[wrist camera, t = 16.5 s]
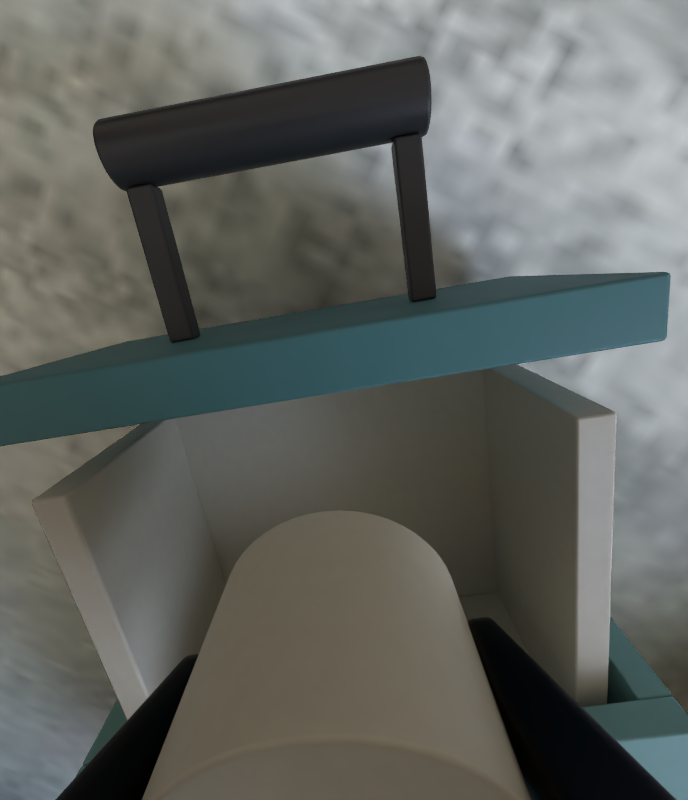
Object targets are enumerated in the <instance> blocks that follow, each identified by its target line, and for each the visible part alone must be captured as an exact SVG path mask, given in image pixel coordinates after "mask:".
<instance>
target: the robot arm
mask: <svg viewBox="0 0 688 800" xmlns="http://www.w3.org/2000/svg"><path fill="white" fill-rule="evenodd" d="M468 625H469V628H470V630H471V633H472V636H473V639H474V641H475V644H476V647H477V650H478V653H479V655H480V658H481V661H482V664H483V666H484V669H485V672H486V675H487V677H488V680H489V683H490V686H491V689H492V691H493V694H494V697H495V700H496V702H497V705H498V708H499V711H500V713H501V716H502V719H503V722H504V725H505V727H506V730H507V733H508V736H509V738H510V741H511V744H512V747H513V750H514V752H515V755H516V758H517V761H518V763H519V766H520V769H521V772H522V774H523V777H524V780H525V783H526V786H527V788H528V791H529V794H530V797H531V799H532V800H676V799H675V798H674V797H673V796H672V795H671V794H670V793H669V792H668V791H667V790H666V789H665V788H664V787H663V786H662V785H661V784H660V783H659V782H658V781H657V780H656V779H655V778H654V777H653V776H652V775H651V774H650V773H649V772H648V771H647V770H646V769H645V768H644V767H643V766H642V765H641V764H640V763H639V762H638V761H637V760H636V759H635V758H634V757H633V756H632V755H631V754H630V753H628V752H627V751H626V750H625V749H624V748H623V747H622V746H621V745H620V744H619V743H618V742H617V741H616V740H615V739H614V738H613V737H612V736H611V735H610V734H609V733H608V732H607V731H606V730H605V729H604V728H603V727H602V726H601V725H600V724H599V723H598V722H597V721H596V720H595V719H594V718H593V717H592V716H591V715H590V714H589V713H588V712H587V711H586V710H585V709H584V708H583V707H582V706H580V705H579V704H578V703H577V702H576V701H575V700H574V699H573V698H572V697H571V696H570V695H569V694H568V693H567V692H566V691H565V690H564V689H563V688H562V687H561V686H560V685H559V684H558V683H557V682H556V681H555V680H554V679H553V678H552V677H551V676H550V675H549V674H548V673H547V672H546V671H545V670H544V669H543V668H542V667H541V666H540V665H539V664H538V663H537V662H536V661H535V660H534V659H533V658H531V657H530V656H529V655H528V654H527V653H526V652H525V651H524V650H523V649H522V648H521V647H520V646H519V645H518V644H517V643H516V642H515V641H514V640H513V639H512V638H511V637H510V636H509V635H508V634H507V633H506V632H505V631H504V630H503V629H502V628H501V627H500V626H499V625H498V624H497V623H496V622H495V621H494V620H493V619H491V618H489V617H481V618H473V619H469V620H468ZM198 655H199V654H194V655H188V656H186V657H185V658H184V659H183V660H182V661H181V662H180V663H179V664H178V665H177V666H176V667H175V668H174V669H173V670H172V672H171V673H170V674H169V675H168V676H167V677H166V678H165V679H164V680H163V682H162V683H161V684H160V685H159V686H158V687H157V688H156V689H155V690H154V691H153V693H152V694H151V695H150V696H149V697H148V698H147V699H146V700H145V701H144V703H143V704H142V705H141V706H140V707H139V708H138V709H137V710H136V711H135V712H134V714H133V715H132V716H131V717H130V718H129V719H128V720H127V721H126V722H125V724H124V725H123V726H122V727H121V728H120V729H119V730H118V731H117V732H116V733H115V735H114V736H113V737H112V738H111V739H110V740H109V741H108V742H107V743H106V745H105V746H104V747H103V748H102V749H101V750H100V751H99V752H98V753H97V754H96V756H95V757H94V758H93V759H92V760H91V761H90V762H89V763H88V764H87V766H86V767H85V768H84V769H83V770H82V771H81V772H80V773H79V774H78V775H77V777H76V778H75V779H74V780H73V781H72V782H71V783H70V784H69V785H68V787H67V788H66V789H65V790H64V791H63V792H62V793H61V794H60V795H59V797H58V798H57V799H56V800H142V798H143V795H144V793H145V790H146V788H147V785H148V783H149V780H150V778H151V775H152V772H153V770H154V767H155V765H156V762H157V760H158V757H159V755H160V752H161V749H162V747H163V744H164V742H165V739H166V737H167V734H168V732H169V729H170V726H171V724H172V721H173V719H174V716H175V714H176V711H177V709H178V706H179V704H180V701H181V698H182V696H183V693H184V691H185V688H186V686H187V683H188V681H189V678H190V675H191V673H192V670H193V668H194V665H195V663H196V660H197V658H198Z"/></svg>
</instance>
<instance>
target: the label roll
mask: <svg viewBox="0 0 688 800" xmlns="http://www.w3.org/2000/svg"><path fill="white" fill-rule="evenodd" d="M142 800H532V799H531V797H530V794H529V791H528V788H527V786H526V783H525V780H524V777H523V774H522V772H521V769H520V766H519V763H518V761H517V758H516V755H515V752H514V750H513V747H512V744H511V741H510V738H509V736H508V733H507V730H506V727H505V725H504V722H503V719H502V716H501V713H500V711H499V708H498V705H497V702H496V700H495V697H494V694H493V691H492V689H491V686H490V683H489V680H488V677H487V675H486V672H485V669H484V666H483V664H482V661H481V658H480V655H479V653H478V650H477V647H476V644H475V641H474V639H473V636H472V633H471V630H470V628H469V625H468V622H467V619H466V617H465V614H464V611H463V608H462V605H461V603H460V600H459V597H458V594H457V592H456V589H455V586H454V583H453V581H452V578H451V575H450V573H449V571H448V569H447V567H446V565H445V564H444V562H443V561H442V559H441V558H440V556H439V555H438V554H437V552H436V551H435V550H434V549H433V548H432V547H431V546H430V545H429V544H428V543H427V542H426V541H424V540H423V539H422V538H421V537H420V536H418V535H417V534H416V533H414V532H413V531H411V530H409V529H408V528H406V527H404V526H403V525H401V524H398V523H396V522H394V521H392V520H389V519H387V518H383V517H380V516H377V515H374V514H369V513H363V512H358V511H344V510H337V511H323V512H316V513H310V514H306V515H303V516H299V517H296V518H293V519H291V520H288V521H286V522H284V523H281V524H279V525H277V526H276V527H274V528H272V529H271V530H269V531H267V532H266V533H264V534H263V535H262V536H260V537H259V538H258V539H257V540H255V541H254V542H253V543H252V544H251V545H250V546H249V547H248V548H247V549H246V550H245V551H244V552H243V554H242V555H241V557H240V558H239V559H238V561H237V562H236V564H235V566H234V568H233V570H232V572H231V574H230V576H229V578H228V581H227V583H226V586H225V589H224V591H223V594H222V596H221V599H220V601H219V604H218V606H217V609H216V612H215V614H214V617H213V619H212V622H211V624H210V627H209V629H208V632H207V635H206V637H205V640H204V642H203V645H202V647H201V650H200V652H199V655H198V658H197V660H196V663H195V665H194V668H193V670H192V673H191V675H190V678H189V681H188V683H187V686H186V688H185V691H184V693H183V696H182V698H181V701H180V704H179V706H178V709H177V711H176V714H175V716H174V719H173V721H172V724H171V726H170V729H169V732H168V734H167V737H166V739H165V742H164V744H163V747H162V749H161V752H160V755H159V757H158V760H157V762H156V765H155V767H154V770H153V772H152V775H151V778H150V780H149V783H148V785H147V788H146V790H145V793H144V795H143V798H142Z"/></svg>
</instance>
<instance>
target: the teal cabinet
mask: <svg viewBox="0 0 688 800" xmlns="http://www.w3.org/2000/svg"><path fill="white" fill-rule="evenodd" d="M583 708H584V709H585V710H586V711H587V712H588V713H589V714H590V715H591V716H592V717H593V718H594V719H595V720H596V721H597V722H598V723H599V724H600V725H601V726H602V727H603V728H604V729H605V730H606V731H607V732H608V733H609V734H610V735H611V736H612V737H613V738H614V739H615V740H616V741H617V742H618V743H619V744H620V745H621V746H622V747H623V748H624V749H625V750H626V751H627V752H628V753H630V754H631V755H632V756H633V757H634V758H635V759H636V760H637V761H638V762H639V763H640V764H641V765H642V766H643V767H644V768H645V769H646V770H647V771H648V772H649V773H650V774H651V775H652V776H653V777H654V778H655V779H656V780H657V781H658V782H659V783H660V784H661V785H662V786H663V787H664V788H665V789H666V790H667V791H668V792H669V793H670V794H671V795H672V796H673V797H674V798H675V799H676V800H688V715H687V713H686V712H685V711H684V710H683V708H682V707H681V706H680V704H679V703H678V702H677V701H676V699H675V698H673V697H672V694H671V692H670V691H669V690H668V689H667V687H666V686H665V685H664V684H663V682H662V681H661V680H660V679H659V677H658V676H657V675H656V674H655V672H654V671H653V670H652V669H651V667H650V666H649V665H648V664H647V662H646V661H645V660H644V658H643V657H642V656H641V655H640V653H639V652H638V651H637V650H636V648H635V647H634V646H633V645H632V643H631V642H630V641H629V640H628V638H627V637H626V636H625V635H624V633H623V632H622V631H621V630H620V628H619V627H618V626H617V624H616V623H615V622H614V621H613V619H612V618H611V617H610V632H609V662H608V692H607V704H603V705H595V706H586V707H583ZM126 721H127V718H126V716H125V714H124V712H123V709H122V707H121V705H120V703H119V700H118V699H117V701H116V703H115V705H114V707H113V709H112V710H111V712H110V714H109V716H108V718H107V720H106V722H105V723H104V725H103V727H102V729H101V731H100V733H99V734H98V736H97V738H96V740H95V742H94V744H93V746H92V747H91V749H90V751H89V753H88V755H87V757H86V758H85V760H84V762H83V766H82V767H81V768H80V770H79V772H78V774H79V773H80V772H81V771H82V770H83V769H84V768H85V767H86V766H87V764H88V763H89V762H90V761H91V760H92V759H93V758H94V757H95V756H96V754H97V753H98V752H99V751H100V750H101V749H102V748H103V747H104V746H105V745H106V743H107V742H108V741H109V740H110V739H111V738H112V737H113V736H114V735H115V733H116V732H117V731H118V730H119V729H120V728H121V727H122V726H123V725H124V724H125V722H126ZM78 774H77V775H78ZM77 775H76V777H77ZM76 777H75V778H76Z"/></svg>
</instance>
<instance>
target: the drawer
mask: <svg viewBox="0 0 688 800" xmlns="http://www.w3.org/2000/svg"><path fill="white" fill-rule="evenodd" d="M430 118H431V82H430V74H429V69H428V65H427V62H426V60H425V58H424V57H422V56H416V57H411V58H406V59H401V60H396V61H391V62H386V63H381V64H376V65H371V66H366V67H361V68H356V69H351V70H346V71H341V72H335V73H330V74H325V75H320V76H315V77H310V78H305V79H300V80H295V81H290V82H285V83H280V84H275V85H270V86H265V87H260V88H255V89H250V90H244V91H239V92H234V93H229V94H224V95H219V96H214V97H209V98H204V99H199V100H194V101H189V102H184V103H179V104H174V105H169V106H164V107H158V108H153V109H148V110H143V111H138V112H133V113H128V114H123V115H118V116H113V117H108V118H103V119H99V120H98V121H96V122H95V124H94V127H93V137H94V142H95V146H96V150H97V153H98V155H99V158H100V160H101V162H102V164H103V166H104V168H105V170H106V172H107V173H108V175H109V176H110V178H111V179H112V181H113V182H114V183H115V184H116V185H117V186H118V187H119V188H120V189H122V190H124V191H127V194H128V198H129V201H130V205H131V208H132V212H133V215H134V218H135V222H136V225H137V229H138V232H139V236H140V239H141V243H142V246H143V249H144V253H145V256H146V260H147V263H148V267H149V270H150V274H151V277H152V280H153V284H154V287H155V291H156V294H157V298H158V301H159V305H160V308H161V311H162V315H163V318H164V322H165V325H166V329H167V332H168V335H162V336H157V337H151V338H145V339H139V340H133V341H127V342H123V343H120V344H116V345H112V346H109V347H105V348H102V349H98V350H94V351H91V352H87V353H83V354H80V355H76V356H73V357H69V358H65V359H62V360H58V361H55V362H51V363H47V364H44V365H40V366H36V367H33V368H29V369H26V370H22V371H18V372H15V373H11V374H7V375H4V376H0V446H5V445H11V444H17V443H24V442H30V441H36V440H43V439H49V438H55V437H61V436H68V435H74V434H80V433H87V432H93V431H99V430H105V429H112V428H118V427H124V426H131V425H137V424H141V425H139V426H138V427H136V428H135V429H134V430H132V431H131V432H129V433H128V434H126V435H125V436H124V437H122V438H121V439H119V440H118V441H116V442H115V443H114V444H112V445H111V446H109V447H108V448H107V449H105V450H104V451H102V452H101V453H99V454H98V455H97V456H95V457H94V458H92V459H91V460H89V461H88V462H87V463H85V464H84V465H82V466H81V467H80V468H78V469H77V470H75V471H74V472H72V473H71V474H70V475H68V476H67V477H65V478H64V479H62V480H61V481H60V482H58V483H57V484H55V485H54V486H52V487H51V488H50V489H48V490H47V491H45V492H44V493H43V494H41V495H40V496H38V497H37V498H35V499H34V500H33V501H32V506H33V508H34V510H35V513H36V515H37V517H38V519H39V522H40V524H41V526H42V528H43V531H44V533H45V535H46V537H47V540H48V542H49V544H50V546H51V549H52V551H53V553H54V556H55V558H56V560H57V562H58V565H59V567H60V569H61V571H62V574H63V576H64V578H65V580H66V583H67V585H68V587H69V589H70V592H71V594H72V596H73V599H74V601H75V603H76V605H77V608H78V610H79V612H80V614H81V617H82V619H83V621H84V623H85V626H86V628H87V630H88V632H89V635H90V637H91V639H92V642H93V644H94V646H95V648H96V651H97V653H98V655H99V657H100V660H101V662H102V664H103V666H104V669H105V671H106V673H107V675H108V678H109V680H110V682H111V684H112V687H113V689H114V691H115V694H116V696H117V698H118V700H119V703H120V705H121V707H122V709H123V712H124V714H125V716H126V718H127V720H128V719H129V718H130V717H131V716H132V715H133V714H134V712H135V711H136V710H137V709H138V708H139V707H140V706H141V705H142V704H143V703H144V701H145V700H146V699H147V698H148V697H149V696H150V695H151V694H152V693H153V691H154V690H155V689H156V688H157V687H158V686H159V685H160V684H161V683H162V682H163V680H164V679H165V678H166V677H167V676H168V675H169V674H170V673H171V672H172V670H173V669H174V668H175V667H176V666H177V665H178V664H179V663H180V662H181V661H182V660H183V659H184V658H185V657H186V656H188V655H194V654H199V652H200V650H201V647H202V645H203V642H204V640H205V637H206V635H207V632H208V629H209V627H210V624H211V622H212V619H213V617H214V614H215V612H216V609H217V606H218V604H219V601H220V599H221V596H222V594H223V591H224V589H225V586H226V583H227V581H228V578H229V576H230V574H231V572H232V570H233V568H234V566H235V564H236V562H237V561H238V559H239V558H240V557H241V555H242V554H243V552H244V551H245V550H246V549H247V548H248V547H249V546H250V545H251V544H252V543H253V542H254V541H255V540H257V539H258V538H259V537H260V536H262V535H263V534H264V533H266V532H267V531H269V530H271V529H272V528H274V527H276V526H277V525H279V524H281V523H284V522H286V521H288V520H291V519H293V518H296V517H299V516H303V515H306V514H310V513H316V512H323V511H337V510H344V511H358V512H363V513H369V514H374V515H377V516H380V517H383V518H387V519H389V520H392V521H394V522H396V523H398V524H401V525H403V526H404V527H406V528H408V529H409V530H411V531H413V532H414V533H416V534H417V535H418V536H420V537H421V538H422V539H423V540H424V541H426V542H427V543H428V544H429V545H430V546H431V547H432V548H433V549H434V550H435V551H436V552H437V554H438V555H439V556H440V558H441V559H442V561H443V562H444V564H445V565H446V567H447V569H448V571H449V573H450V575H451V578H452V581H453V583H454V586H455V589H456V592H457V594H458V597H459V600H460V603H461V605H462V608H463V611H464V614H465V617H466V619H467V622H468V620H469V619H473V618H481V617H489V618H491V619H493V620H494V621H495V622H496V623H497V624H498V625H499V626H500V627H501V628H502V629H503V630H504V631H505V632H506V633H507V634H508V635H509V636H510V637H511V638H512V639H513V640H514V641H515V642H516V643H517V644H518V645H519V646H520V647H521V648H522V649H523V650H524V651H525V652H526V653H527V654H528V655H529V656H530V657H531V658H533V659H534V660H535V661H536V662H537V663H538V664H539V665H540V666H541V667H542V668H543V669H544V670H545V671H546V672H547V673H548V674H549V675H550V676H551V677H552V678H553V679H554V680H555V681H556V682H557V683H558V684H559V685H560V686H561V687H562V688H563V689H564V690H565V691H566V692H567V693H568V694H569V695H570V696H571V697H572V698H573V699H574V700H575V701H576V702H577V703H578V704H579V705H580V706H582V707H586V706H595V705H603V704H607V692H608V662H609V632H610V602H611V572H612V542H613V512H614V482H615V452H616V422H617V414H616V412H614V411H612V410H610V409H608V408H606V407H604V406H602V405H600V404H598V403H595V402H593V401H591V400H589V399H587V398H585V397H583V396H581V395H579V394H577V393H575V392H573V391H571V390H568V389H566V388H564V387H562V386H560V385H558V384H556V383H554V382H552V381H550V380H548V379H546V378H544V377H542V376H539V375H537V374H535V373H533V372H531V371H529V370H527V369H525V368H523V367H521V366H519V365H517V364H520V363H526V362H533V361H539V360H545V359H551V358H558V357H564V356H570V355H577V354H583V353H589V352H595V351H602V350H608V349H614V348H621V347H627V346H633V345H639V344H646V343H652V342H658V341H663V340H665V339H666V335H667V320H668V305H669V291H670V273H667V272H649V273H615V274H581V275H547V276H513V277H504V278H499V279H493V280H487V281H481V282H475V283H469V284H463V285H457V286H451V287H446V288H440V289H436V284H435V274H434V263H433V253H432V242H431V232H430V221H429V211H428V200H427V190H426V179H425V169H424V158H423V148H422V137H423V136H424V135H426V134H427V132H428V129H429V124H430ZM387 143H393V144H392V148H391V149H392V158H393V166H394V175H395V184H396V192H397V201H398V210H399V219H400V227H401V236H402V245H403V253H404V262H405V271H406V279H407V288H408V294H404V295H398V296H392V297H387V298H381V299H375V300H369V301H363V302H357V303H351V304H345V305H339V306H333V307H328V308H322V309H316V310H310V311H304V312H298V313H292V314H286V315H280V316H275V317H269V318H263V319H257V320H251V321H245V322H239V323H233V324H227V325H221V326H216V327H210V328H204V329H199V328H198V324H197V320H196V317H195V313H194V309H193V305H192V302H191V298H190V294H189V290H188V287H187V283H186V279H185V275H184V272H183V268H182V264H181V260H180V257H179V253H178V249H177V245H176V242H175V238H174V234H173V230H172V227H171V223H170V219H169V216H168V212H167V208H166V204H165V201H164V197H163V193H162V190H161V189H160V188H158V187H159V186H164V185H169V184H175V183H180V182H185V181H191V180H196V179H201V178H207V177H212V176H217V175H223V174H228V173H233V172H238V171H244V170H249V169H254V168H260V167H265V166H270V165H276V164H281V163H286V162H292V161H297V160H302V159H308V158H313V157H318V156H324V155H329V154H334V153H340V152H345V151H350V150H356V149H361V148H366V147H371V146H377V145H382V144H387Z"/></svg>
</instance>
